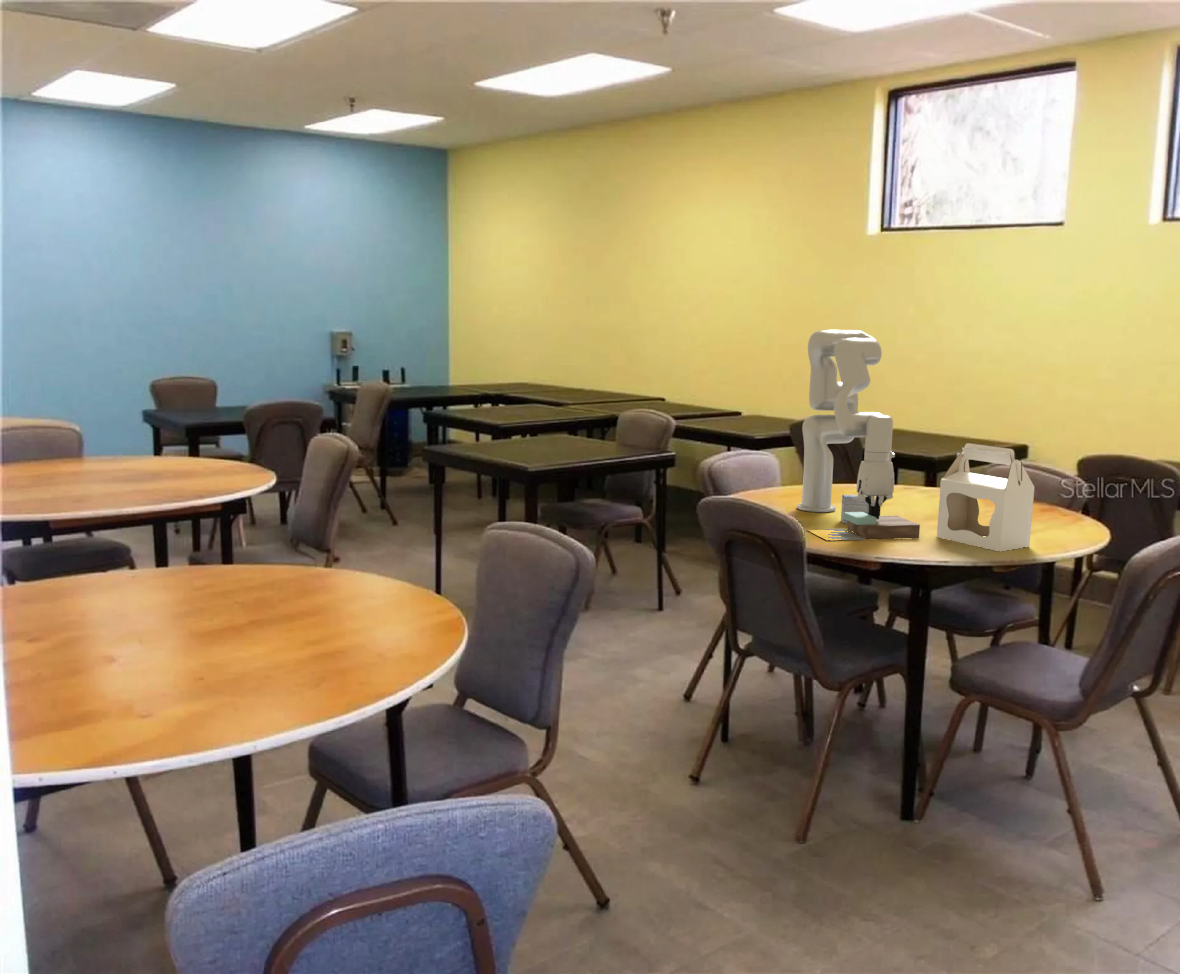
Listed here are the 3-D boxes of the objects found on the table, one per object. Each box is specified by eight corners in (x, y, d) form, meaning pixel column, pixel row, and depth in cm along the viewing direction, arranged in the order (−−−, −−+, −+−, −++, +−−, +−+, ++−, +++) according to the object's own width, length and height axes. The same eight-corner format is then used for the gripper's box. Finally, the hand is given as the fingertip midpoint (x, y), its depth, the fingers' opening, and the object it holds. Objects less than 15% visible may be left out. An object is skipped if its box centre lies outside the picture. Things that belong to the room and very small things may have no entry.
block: (843, 518, 306) (843, 512, 306) (862, 518, 307) (862, 511, 307) (857, 524, 297) (857, 518, 297) (876, 524, 298) (876, 517, 298)
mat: (806, 530, 308) (806, 529, 308) (843, 529, 310) (843, 528, 310) (826, 541, 294) (826, 540, 293) (865, 540, 296) (865, 539, 296)
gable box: (935, 537, 301) (942, 442, 297) (965, 532, 308) (972, 440, 304) (1000, 552, 283) (1008, 452, 278) (1030, 547, 290) (1039, 449, 285)
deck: (847, 529, 310) (847, 516, 309) (896, 528, 313) (897, 515, 312) (867, 539, 296) (868, 526, 296) (918, 538, 299) (919, 524, 299)
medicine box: (866, 521, 323) (867, 494, 321) (868, 524, 318) (870, 497, 317) (840, 521, 324) (842, 494, 322) (842, 523, 319) (844, 496, 318)
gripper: (894, 455, 305) (891, 515, 308) (848, 455, 302) (844, 516, 305) (907, 458, 298) (903, 520, 301) (859, 459, 295) (856, 521, 298)
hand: (873, 518), depth 303 cm, fingers closed
